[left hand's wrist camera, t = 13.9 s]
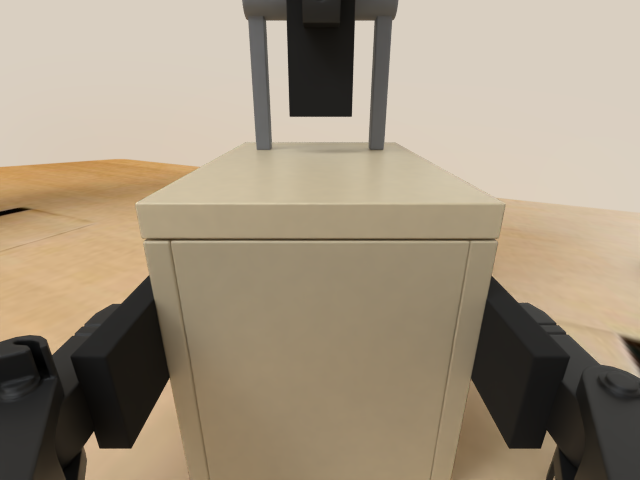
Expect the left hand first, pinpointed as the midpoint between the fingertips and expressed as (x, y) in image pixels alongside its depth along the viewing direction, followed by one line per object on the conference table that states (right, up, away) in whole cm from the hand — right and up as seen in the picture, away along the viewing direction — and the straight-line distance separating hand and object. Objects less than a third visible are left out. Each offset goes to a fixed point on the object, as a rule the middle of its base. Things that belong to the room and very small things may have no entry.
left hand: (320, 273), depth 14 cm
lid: (0, +4, +1) cm, 4 cm away
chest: (0, -5, +4) cm, 7 cm away
